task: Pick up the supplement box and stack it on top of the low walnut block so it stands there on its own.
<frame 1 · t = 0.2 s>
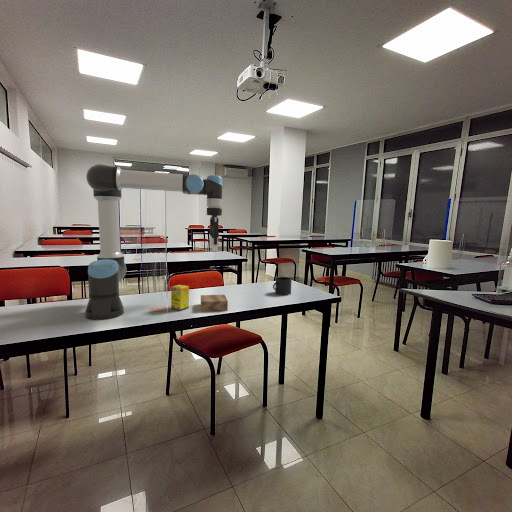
hand: (213, 249, 152), 27 cm above the table, fingers open, 13 cm apart
mug: (281, 293, 178), on the table
supplement box: (180, 309, 143), on the table
walnut block: (213, 307, 147), on the table
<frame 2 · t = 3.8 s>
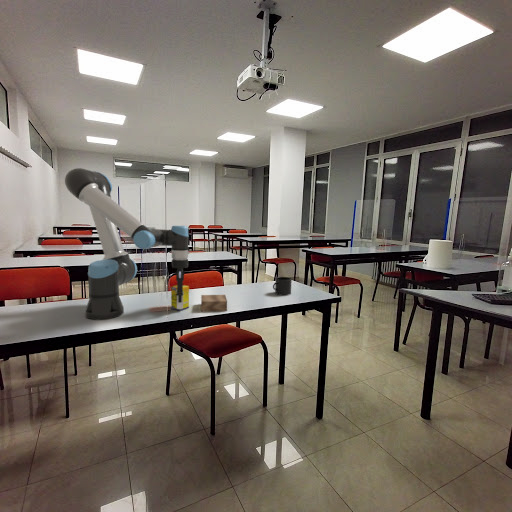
hand: (180, 305, 143), 1 cm above the table, fingers closed on supplement box, 8 cm apart
supplement box: (180, 308, 143), on the table, touching gripper
everything else where it was.
when the fingers open (8 cm above the table, at t = 8.4 s): supplement box drops 2 cm, resting on walnut block.
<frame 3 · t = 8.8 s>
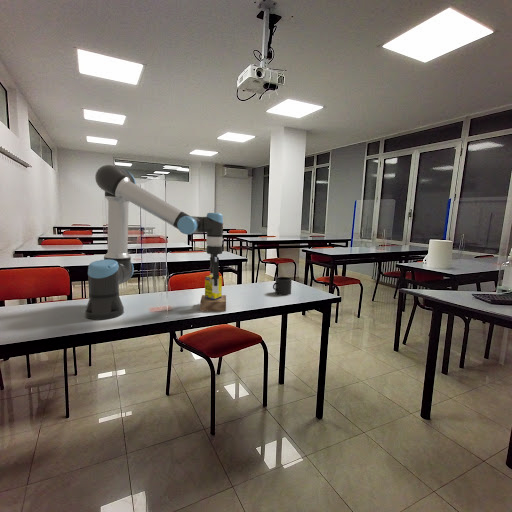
hand: (213, 289, 146), 9 cm above the table, fingers open, 13 cm apart
supplement box: (213, 298, 146), point 4 cm above the table, touching walnut block
walnut block: (213, 308, 147), on the table, touching supplement box
everything else where it was.
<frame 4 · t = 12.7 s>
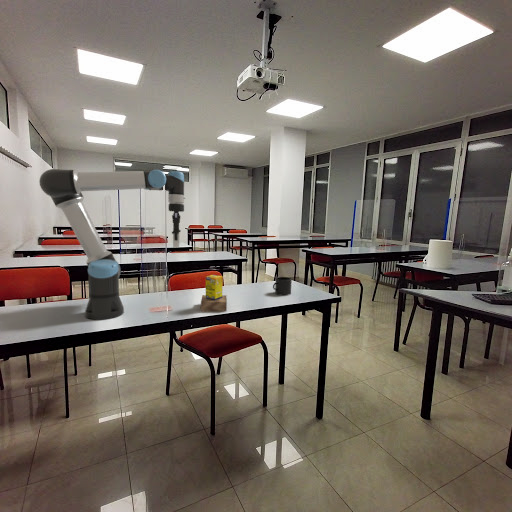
hand: (176, 245, 153), 29 cm above the table, fingers open, 13 cm apart
nothing on the table moved.
at the end: supplement box inside the target area on the walnut block (0.4 cm from its centre), point 4.8 cm above the walnut block's base; supplement box tilted 0°; the gripper is holding nothing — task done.
